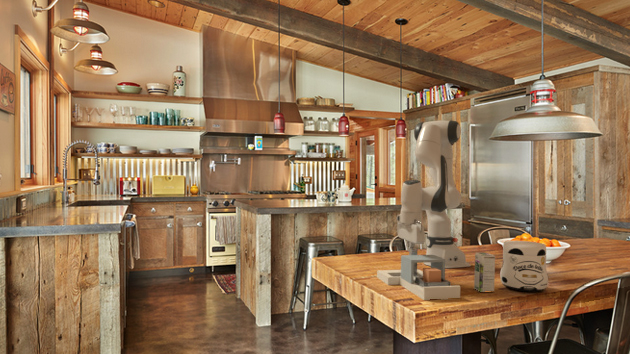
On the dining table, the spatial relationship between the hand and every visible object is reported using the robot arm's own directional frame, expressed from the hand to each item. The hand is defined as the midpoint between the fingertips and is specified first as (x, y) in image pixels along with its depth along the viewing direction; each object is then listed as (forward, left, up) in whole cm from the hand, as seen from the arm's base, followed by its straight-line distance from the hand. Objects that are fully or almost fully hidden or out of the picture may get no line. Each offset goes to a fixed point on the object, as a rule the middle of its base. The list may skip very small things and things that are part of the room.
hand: (410, 251), depth 186 cm
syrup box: (-22, +20, -13) cm, 32 cm away
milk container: (-40, +19, -13) cm, 46 cm away
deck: (+2, +10, -12) cm, 16 cm away
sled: (0, +13, -9) cm, 16 cm away
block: (0, +20, -9) cm, 22 cm away
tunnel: (0, +12, -9) cm, 15 cm away
